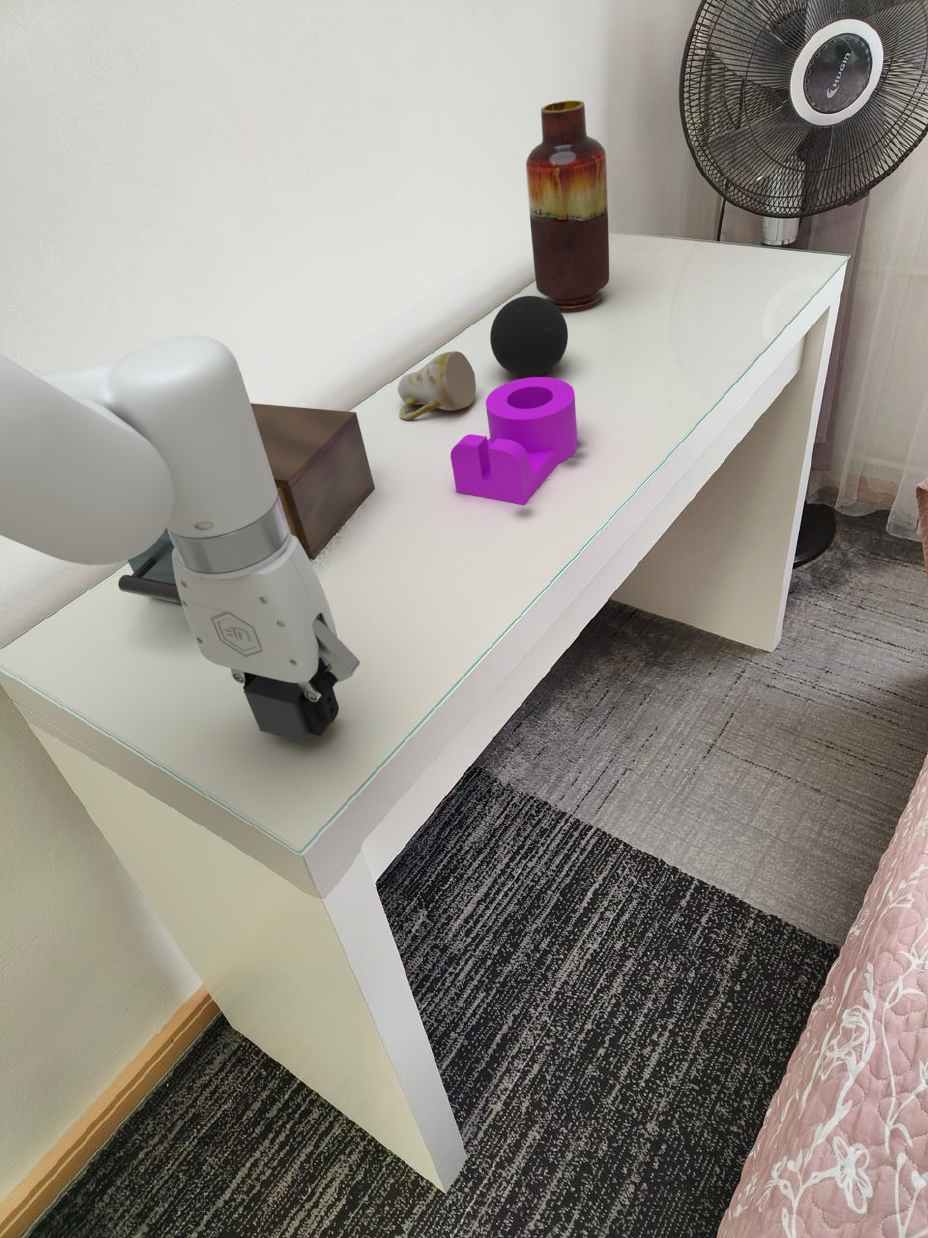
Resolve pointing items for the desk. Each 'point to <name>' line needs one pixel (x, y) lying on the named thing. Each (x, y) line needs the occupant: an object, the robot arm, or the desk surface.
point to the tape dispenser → (518, 440)
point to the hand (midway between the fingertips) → (297, 714)
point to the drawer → (157, 564)
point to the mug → (438, 385)
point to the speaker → (529, 336)
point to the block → (279, 708)
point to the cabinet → (316, 467)
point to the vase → (568, 210)
